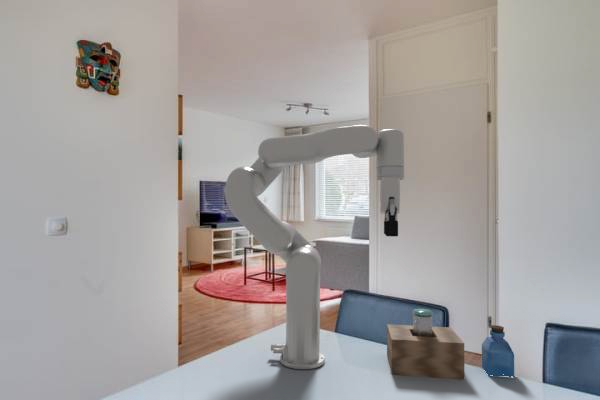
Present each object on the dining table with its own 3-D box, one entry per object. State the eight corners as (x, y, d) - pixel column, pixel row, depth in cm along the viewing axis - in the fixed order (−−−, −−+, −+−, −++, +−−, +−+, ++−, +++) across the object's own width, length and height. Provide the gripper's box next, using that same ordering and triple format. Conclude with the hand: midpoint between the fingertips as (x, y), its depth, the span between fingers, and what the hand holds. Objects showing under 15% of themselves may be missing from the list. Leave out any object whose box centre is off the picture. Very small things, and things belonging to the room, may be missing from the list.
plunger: (414, 345, 104) (414, 312, 104) (411, 339, 109) (411, 308, 109) (434, 347, 103) (434, 313, 103) (430, 340, 108) (430, 309, 109)
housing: (391, 374, 100) (391, 339, 100) (387, 355, 114) (387, 324, 114) (464, 379, 98) (464, 343, 98) (450, 358, 112) (450, 327, 112)
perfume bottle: (514, 378, 99) (513, 331, 99) (488, 376, 100) (487, 329, 100) (506, 369, 105) (506, 324, 105) (481, 367, 106) (481, 323, 106)
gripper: (375, 177, 118) (376, 233, 117) (377, 171, 101) (378, 236, 100) (401, 177, 116) (401, 233, 116) (407, 170, 99) (408, 237, 99)
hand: (390, 235), depth 108 cm, fingers open, 9 cm apart
